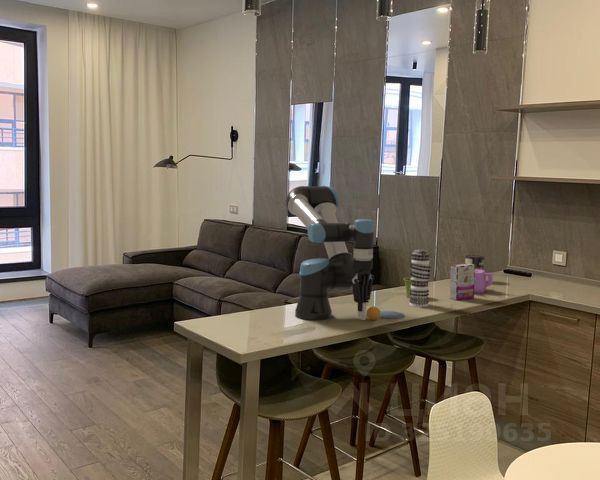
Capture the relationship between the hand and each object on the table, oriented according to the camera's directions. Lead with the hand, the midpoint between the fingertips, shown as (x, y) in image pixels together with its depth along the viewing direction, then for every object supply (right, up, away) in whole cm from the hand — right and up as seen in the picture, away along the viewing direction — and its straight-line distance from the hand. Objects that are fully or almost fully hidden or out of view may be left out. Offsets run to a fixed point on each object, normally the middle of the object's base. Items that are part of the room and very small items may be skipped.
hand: (361, 318), depth 239 cm
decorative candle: (+30, +1, +37) cm, 47 cm away
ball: (+5, +1, +6) cm, 8 cm away
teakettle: (+63, +5, +73) cm, 96 cm away
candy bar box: (+53, +3, +53) cm, 75 cm away
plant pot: (+30, +3, +55) cm, 63 cm away
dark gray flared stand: (+73, +8, +102) cm, 126 cm away
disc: (+13, 0, +16) cm, 20 cm away
